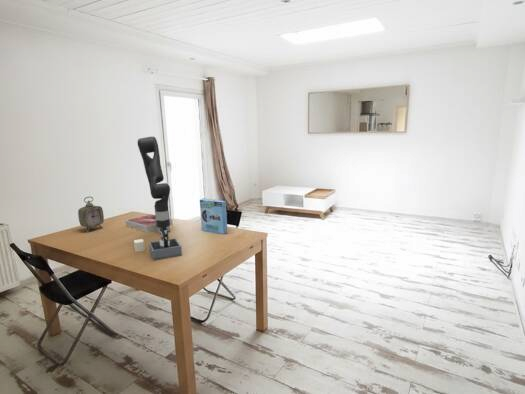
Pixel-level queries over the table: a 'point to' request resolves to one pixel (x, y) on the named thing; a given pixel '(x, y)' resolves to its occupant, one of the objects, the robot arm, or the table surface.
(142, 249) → the cream box
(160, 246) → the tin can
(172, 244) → the tote
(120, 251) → the table surface
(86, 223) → the tabletop clock
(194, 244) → the table surface
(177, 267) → the table surface
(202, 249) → the table surface
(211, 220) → the gum box
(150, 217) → the product packaging
